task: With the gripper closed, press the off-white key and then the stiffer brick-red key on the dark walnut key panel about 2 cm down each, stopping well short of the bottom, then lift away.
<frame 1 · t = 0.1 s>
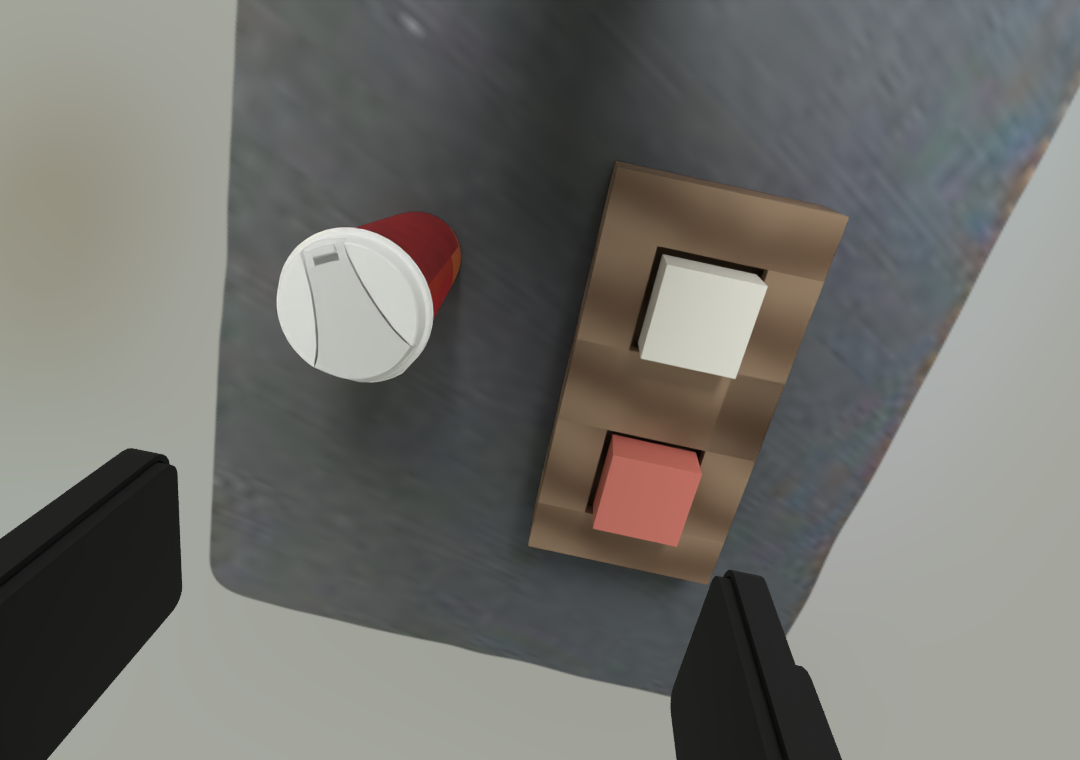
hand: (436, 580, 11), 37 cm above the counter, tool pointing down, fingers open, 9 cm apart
red key: (644, 490, 45), point 6 cm above the counter, slide at 0.0 cm
coffee cup: (421, 254, 47), on the counter
panel: (661, 374, 48), on the counter
white key: (698, 316, 40), point 6 cm above the counter, slide at 0.0 cm
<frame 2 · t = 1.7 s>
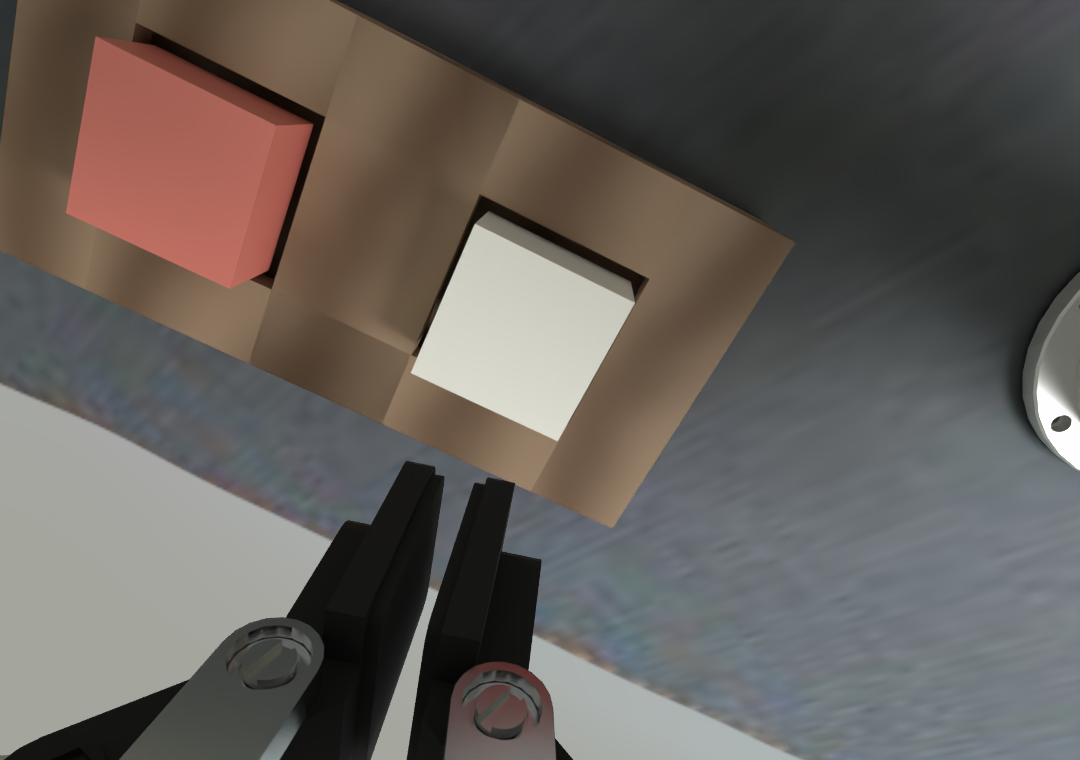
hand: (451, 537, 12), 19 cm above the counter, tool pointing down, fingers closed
red key: (192, 167, 23), point 6 cm above the counter, slide at 0.0 cm
panel: (406, 222, 29), on the counter
white key: (523, 326, 24), point 6 cm above the counter, slide at 0.0 cm
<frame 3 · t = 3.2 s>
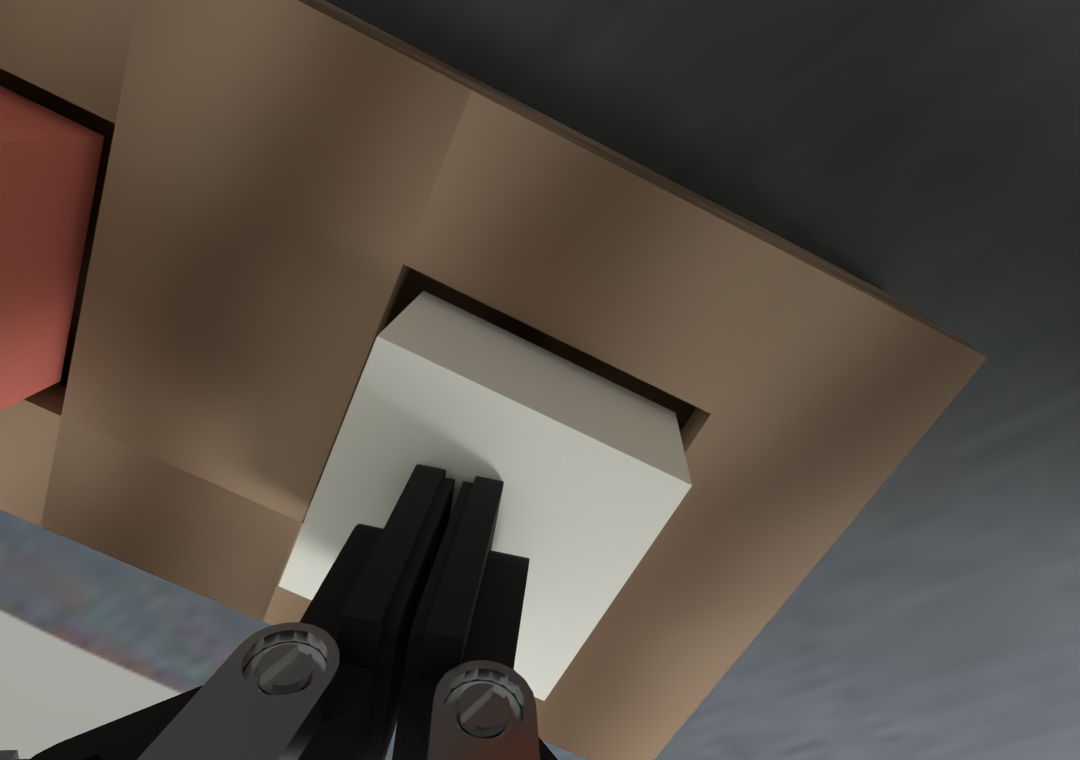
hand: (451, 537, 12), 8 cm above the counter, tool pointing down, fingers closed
panel: (314, 288, 19), on the counter
white key: (484, 496, 14), point 6 cm above the counter, slide at 0.0 cm, touching gripper
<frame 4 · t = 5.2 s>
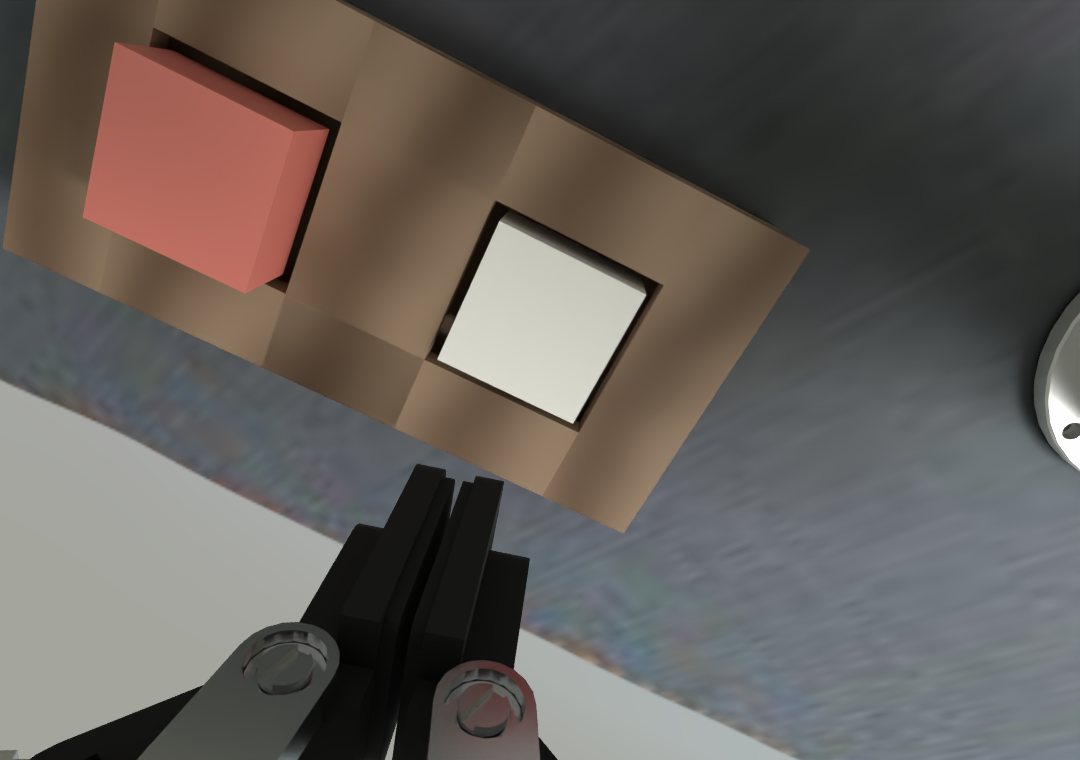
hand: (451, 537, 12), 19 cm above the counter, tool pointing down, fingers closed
red key: (209, 172, 23), point 6 cm above the counter, slide at 0.0 cm
panel: (419, 227, 29), on the counter
white key: (541, 316, 26), point 4 cm above the counter, slide at 2.0 cm
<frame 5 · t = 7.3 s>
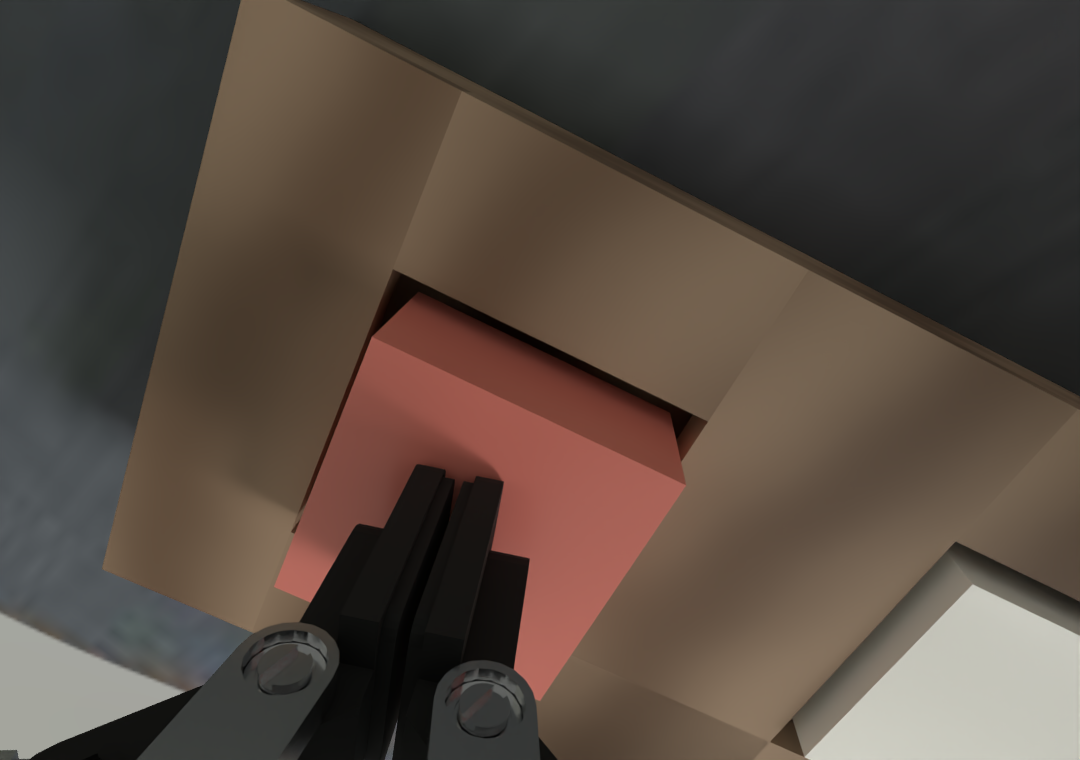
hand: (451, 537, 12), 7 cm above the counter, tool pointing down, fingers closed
red key: (479, 496, 14), point 6 cm above the counter, slide at 0.4 cm, touching gripper
panel: (709, 483, 19), on the counter
white key: (960, 676, 16), point 4 cm above the counter, slide at 2.0 cm
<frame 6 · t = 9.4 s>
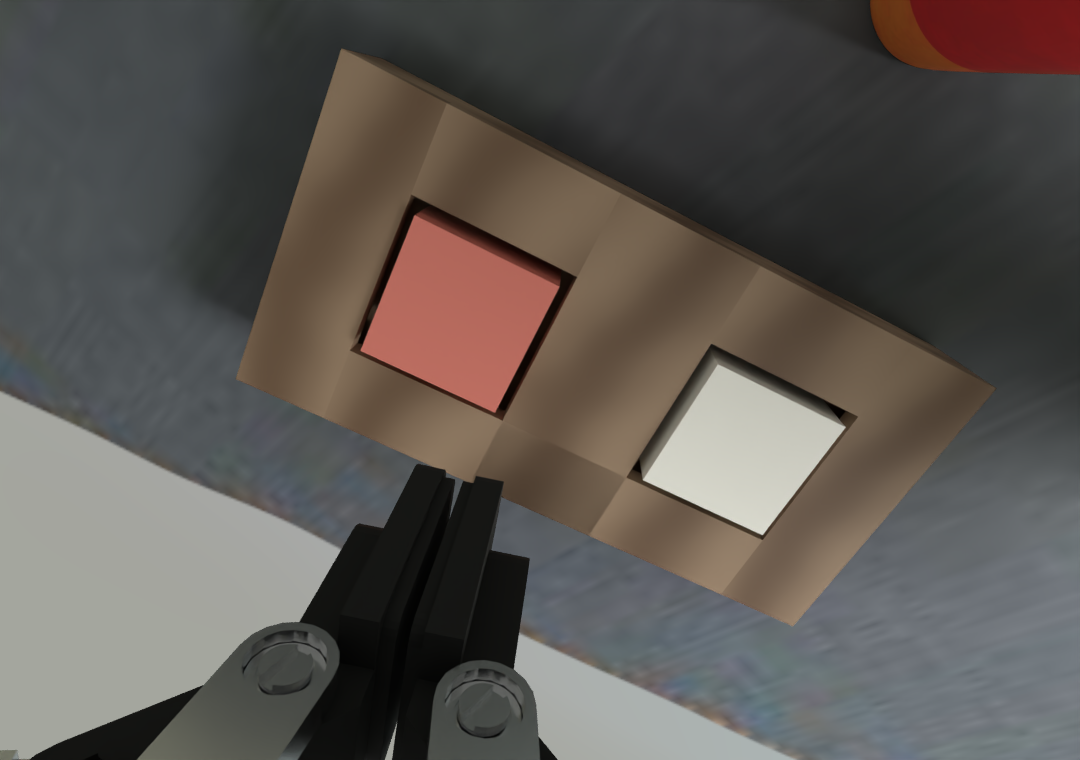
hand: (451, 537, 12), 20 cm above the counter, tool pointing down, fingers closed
red key: (463, 308, 27), point 4 cm above the counter, slide at 1.9 cm
panel: (600, 343, 31), on the counter
white key: (733, 437, 29), point 4 cm above the counter, slide at 2.0 cm
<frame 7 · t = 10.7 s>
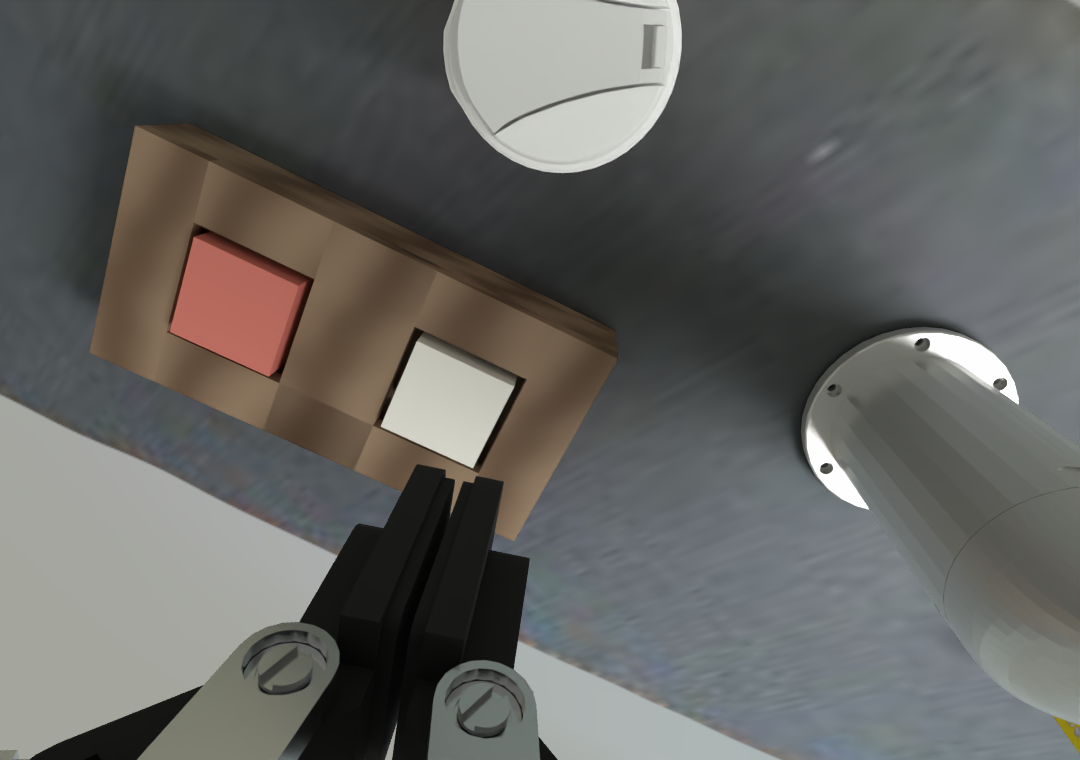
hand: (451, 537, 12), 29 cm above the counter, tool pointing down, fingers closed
red key: (246, 302, 38), point 4 cm above the counter, slide at 1.9 cm
coffee cup: (573, 72, 36), on the counter
panel: (372, 328, 42), on the counter
white key: (451, 396, 39), point 4 cm above the counter, slide at 2.0 cm
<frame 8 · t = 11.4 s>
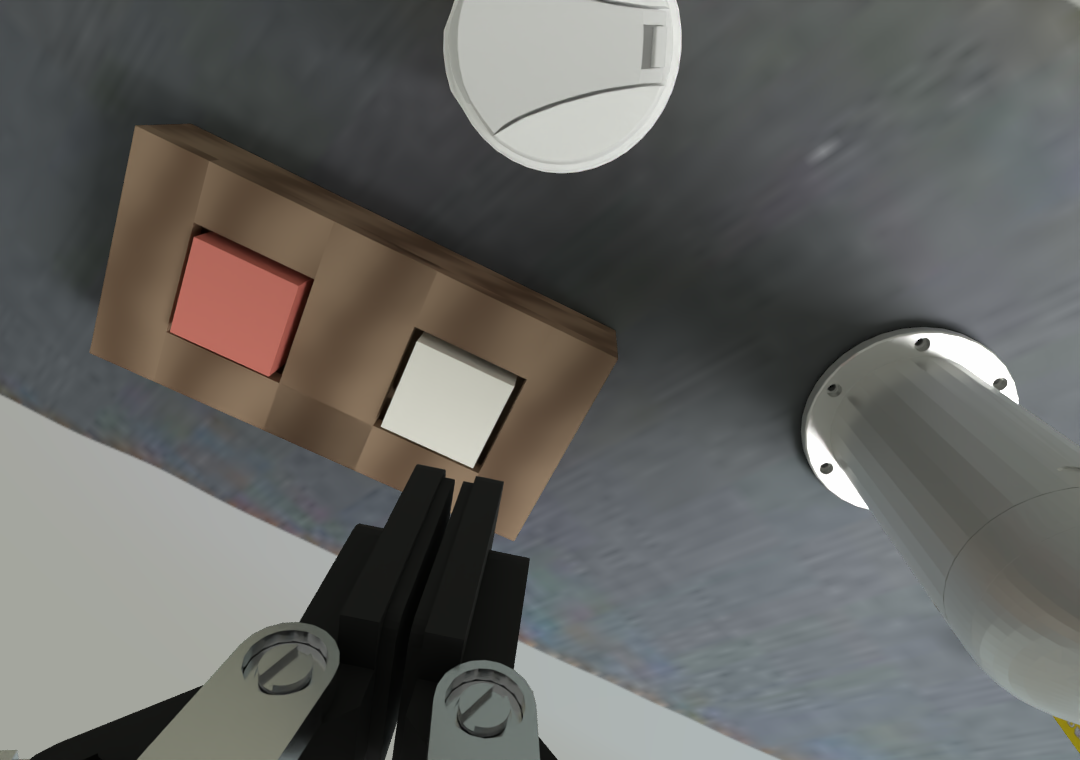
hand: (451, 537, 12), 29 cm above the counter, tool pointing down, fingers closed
red key: (246, 302, 38), point 4 cm above the counter, slide at 1.9 cm
coffee cup: (573, 72, 36), on the counter
panel: (372, 328, 42), on the counter
white key: (451, 396, 39), point 4 cm above the counter, slide at 2.0 cm
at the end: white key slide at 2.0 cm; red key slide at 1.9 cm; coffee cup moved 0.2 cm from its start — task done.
